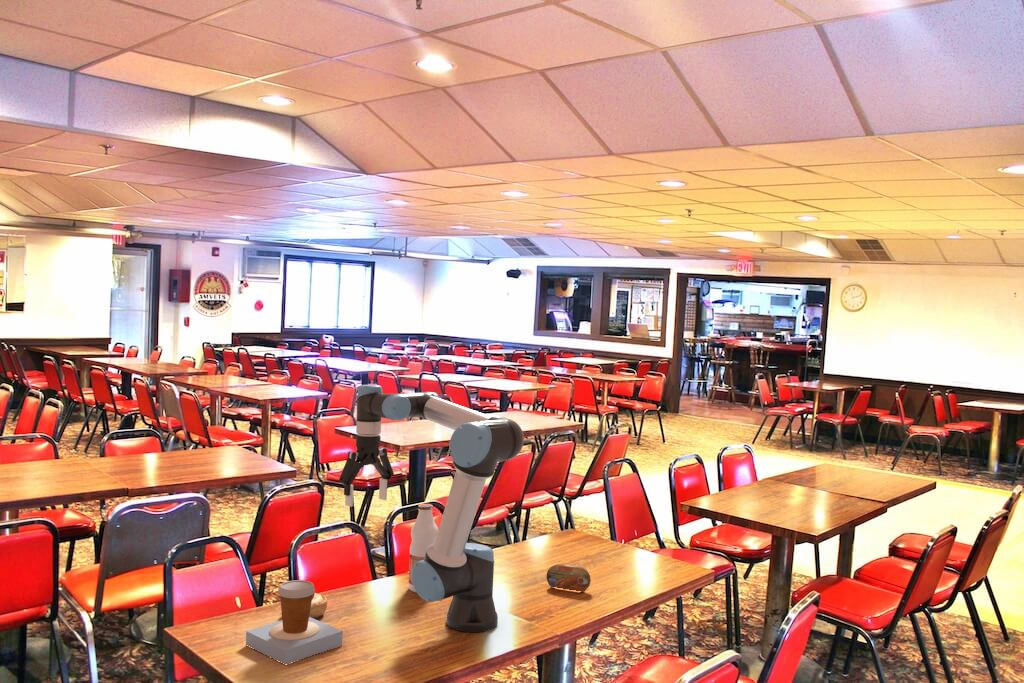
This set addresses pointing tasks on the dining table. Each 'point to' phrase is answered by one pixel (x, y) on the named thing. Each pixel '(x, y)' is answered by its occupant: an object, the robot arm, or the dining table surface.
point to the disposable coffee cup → (296, 605)
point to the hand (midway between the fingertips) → (366, 502)
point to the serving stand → (293, 640)
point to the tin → (568, 577)
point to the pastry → (318, 605)
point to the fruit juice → (421, 537)
